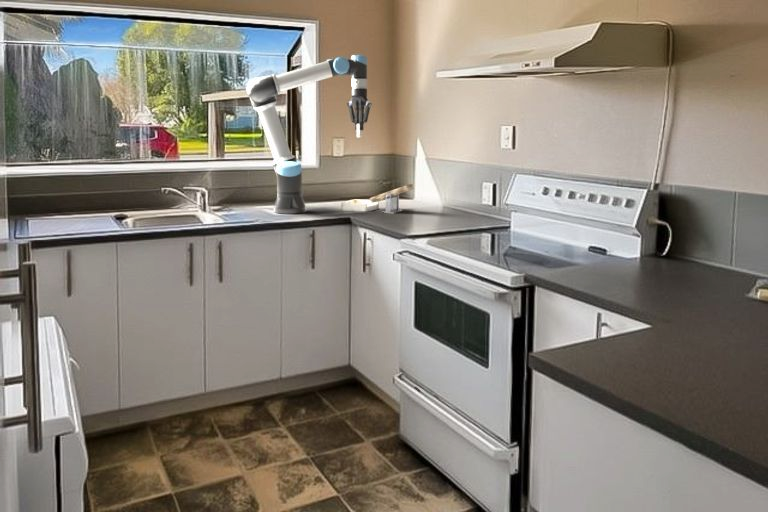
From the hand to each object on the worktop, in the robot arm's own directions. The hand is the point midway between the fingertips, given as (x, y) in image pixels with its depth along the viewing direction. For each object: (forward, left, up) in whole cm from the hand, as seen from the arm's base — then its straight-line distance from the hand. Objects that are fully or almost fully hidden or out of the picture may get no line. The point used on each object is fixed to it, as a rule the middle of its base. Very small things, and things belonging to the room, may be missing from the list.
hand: (359, 137), depth 365 cm
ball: (+1, -9, -32) cm, 33 cm away
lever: (+22, -6, -27) cm, 35 cm away
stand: (+22, -9, -34) cm, 42 cm away
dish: (+5, -9, -34) cm, 36 cm away
